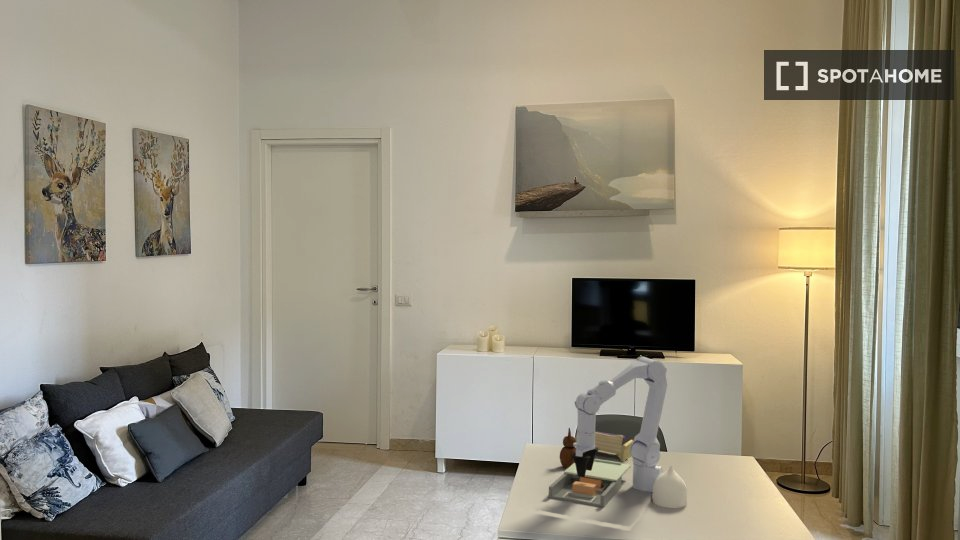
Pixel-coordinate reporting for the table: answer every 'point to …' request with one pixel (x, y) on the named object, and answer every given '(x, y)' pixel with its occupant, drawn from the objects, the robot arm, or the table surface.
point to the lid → (603, 470)
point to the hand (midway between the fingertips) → (584, 473)
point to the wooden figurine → (567, 451)
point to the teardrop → (670, 490)
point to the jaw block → (584, 488)
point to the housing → (564, 492)
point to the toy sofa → (612, 444)
